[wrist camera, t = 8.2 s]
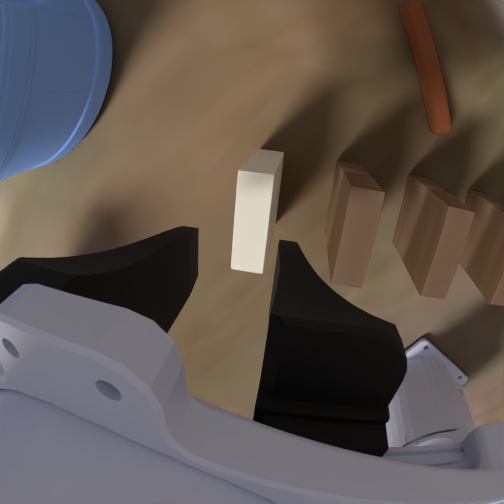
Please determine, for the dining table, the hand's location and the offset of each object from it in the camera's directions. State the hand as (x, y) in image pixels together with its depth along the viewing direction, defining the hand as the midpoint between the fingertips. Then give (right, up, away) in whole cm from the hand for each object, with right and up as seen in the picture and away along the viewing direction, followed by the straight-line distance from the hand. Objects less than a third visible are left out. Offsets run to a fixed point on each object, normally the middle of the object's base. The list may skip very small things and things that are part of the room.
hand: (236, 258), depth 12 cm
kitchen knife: (+11, +15, +3) cm, 19 cm away
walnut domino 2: (+11, +3, +8) cm, 14 cm away
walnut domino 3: (+16, +2, +8) cm, 18 cm away
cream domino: (+2, +5, +9) cm, 10 cm away
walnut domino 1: (+7, +4, +9) cm, 12 cm away
